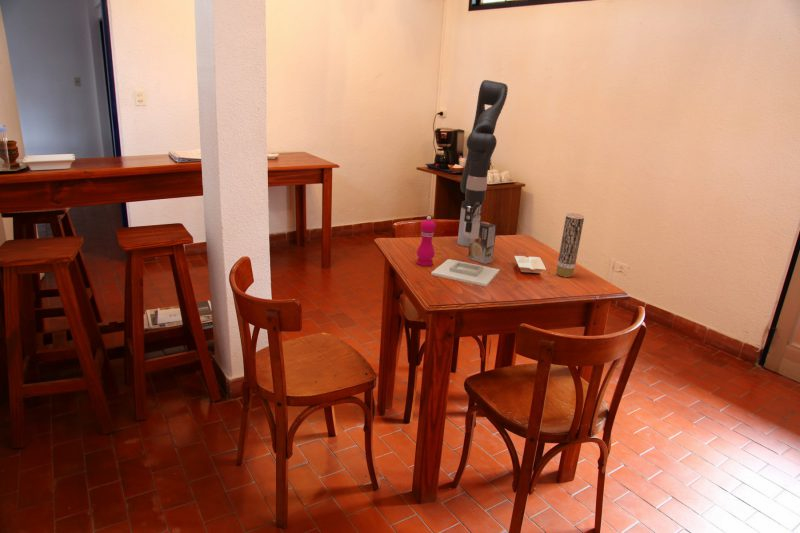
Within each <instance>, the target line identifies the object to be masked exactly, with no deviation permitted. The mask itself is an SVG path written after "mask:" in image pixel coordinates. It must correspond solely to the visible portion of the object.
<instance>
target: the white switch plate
mask: <svg viewBox="0 0 800 533" xmlns="http://www.w3.org/2000/svg"><path fill="white" fill-rule="evenodd" d="M500 271H501V269H499V268H494V267H490V266H484V265H480V264H474V263H471V262H466V261H460V260H455V259H450V258H448V259H446V260H445V261H444V262H443V263H442V264H440V265H439V266H437V267H436V268H435V269H433V270H432V271H431V274H430V276H436V277H440V278H444V279H448V280H454V281H458V282H463V283H467V284H471V285H478V286H482V287H487V286H488V285H489V284H490V283H491V282H492V281H493V280H494V279H495V277H496V276H497V275H498V274H499V273H500Z"/></svg>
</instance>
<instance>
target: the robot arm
mask: <svg viewBox="0 0 800 533" xmlns="http://www.w3.org/2000/svg"><path fill="white" fill-rule="evenodd" d="M508 88H509V87H508V85H507V84H506V83H503V82H498V81H494V80H487V79H484V80H482V82H481V83H480V86H479V89H478V94H477V95H478V97H477V102H476V110H475V117H474V119H473V126H472V129H471V132H470V134H469V135H468V137H467V140H466V148H467V156H466V160H465V163H464V167H463V171H462V175H461V177H460V178H461V179H460V185H459V186H460V191H461V192H462V193H463V194H464V195H465V197H464V199H465V200H463V201H462V202H461V207H460V218H459V227H458V235H457V245H459V246H462V247H468V248H469V245H470V239H469V238H467V237H466V236H465V235H464V234H463V231H464V222H466V228H465V232H469V233H470V232H471V230H472V222H473V219H474V218H475V215H476V213H477V215H478V219H479V221H481V217H482V216H481V215H482V208H483V202H485V200H486V197H487V196H486V194H487V187H488V172H489V168H490V167H489V165H490V162H491V159H492V156H493V154H494V152H495V149H496V147H497V141H498V140H497V137H496V135H494V133H495V130H496V127H497V126H496V125H497V122H498V119H499V117H500V115H501V114H502V113H501V112H502V110H503V108H504V106H505V104H506V100H507V97H508V91H509V90H508ZM486 106H490V107H488V108H487V109H486ZM469 217H470V219H468V218H469Z"/></svg>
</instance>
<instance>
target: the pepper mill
mask: <svg viewBox="0 0 800 533" xmlns="http://www.w3.org/2000/svg"><path fill="white" fill-rule="evenodd" d="M436 227H437V225H436V222H435V221H434V220H432V216H430V215H428V216H426V219H425V220H424V219H423V221H421V223H420V229H421V231H420V232H421V234H420V235H421V242H420V244H419V246H418V248H417V250H416V255H417V257H418V258H417V259H416V260H417V262H416V264H418V266H421V267H430V266H433V258H434V257H435V247H434V246H433V237H434V234H435V232H434V231H435V230H436Z"/></svg>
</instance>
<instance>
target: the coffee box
mask: <svg viewBox="0 0 800 533" xmlns="http://www.w3.org/2000/svg"><path fill="white" fill-rule="evenodd" d="M479 222H480V228H479V236H478V239H470V245H469V247H468V255H467V256H468V257H467V259H468V260H471V261H474V262H477V263H480V264H483V265H487V264H489V263H492V262H493V261H494V260H493V259H494V252H495V244H496V243H495V242H496V237H497V236H496V234H497V229H498V228H497V227H498V226H497V224H493V223H491V222H486V221H483V220H480V221H479Z"/></svg>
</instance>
